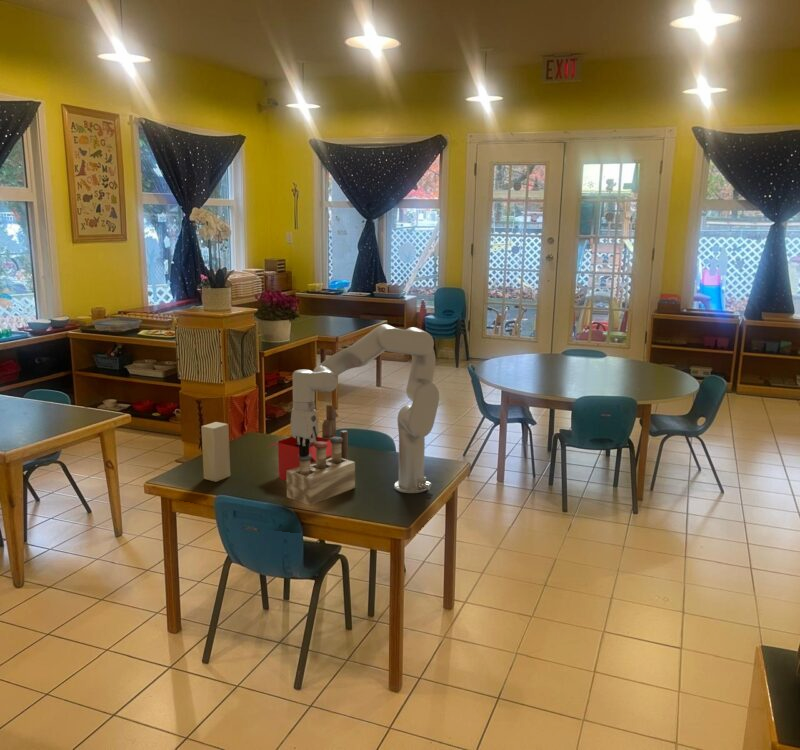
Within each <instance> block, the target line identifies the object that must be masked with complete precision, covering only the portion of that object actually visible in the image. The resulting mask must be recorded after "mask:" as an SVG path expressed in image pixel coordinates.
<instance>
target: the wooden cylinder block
mask: <svg viewBox="0 0 800 750" xmlns="http://www.w3.org/2000/svg"><path fill="white" fill-rule="evenodd" d="M341 460H342V462H341V463H339V464H334V463H332V455H331V456H328V457H326V468H325V469H317V468H316V461H314V462H311V463H310V474H309V475H306V476H304V475H301V474H300V466H299V467H296V468H293V469H290V470H287V471H286V477H287V481H286V498H288V499H290V500H294V501H296V502H300V503H302V504H304V505H307V506H313V505H316V504H318V503H320V502H322V501H326V500H327V499H330V498H333V497H335V496H338V495H340V494H343V493H346V492H348V491H350V490H352V489H355V488H356V461H353V460H350V459H348V460H346V459H343V458H341Z"/></svg>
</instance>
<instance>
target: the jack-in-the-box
mask: <svg viewBox="0 0 800 750" xmlns="http://www.w3.org/2000/svg"><path fill="white" fill-rule="evenodd" d="M315 438H316V442H327V447H326V457H328V456H331V455H332V443H331V442H330V440H329V439H324V438H321V437H320V436H317V437H315ZM316 442H312V443H310V445H309V454H311V457H312V459H311V460H310V463H311V462H314V461H316V448H315V443H316ZM275 446H277V447H278V449H277V451H278V479H280V480H282V481H286V482H287V477H286V471H287V470H290V469H293V468H296V467H299V466H300V460H299V459H298V455H299V445H298V441H297V439H296V438H294V437H293V436H290V437H287V438H284V439H281V440H278V441H276V442H274V443H272V444H270V445H269V446H268V447H267V448H266V449H268V448H271V447H275Z"/></svg>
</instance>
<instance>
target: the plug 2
mask: <svg viewBox="0 0 800 750" xmlns="http://www.w3.org/2000/svg"><path fill="white" fill-rule="evenodd" d="M330 442H331V443H332V463H334V464H339V463H341V462H342V460H341V443H342V442H343V438H342V437H340V436H336V437H331V438H330Z"/></svg>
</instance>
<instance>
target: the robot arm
mask: <svg viewBox="0 0 800 750" xmlns="http://www.w3.org/2000/svg"><path fill="white" fill-rule="evenodd" d="M434 345H435V342H434V338H433V336H432V335H431V334H430V333H429V332H427V331H425V330H423V329H421V328H418V327H416V326H412V327H408V328H406V329H403V328H402V329H401V328H398V327H397V328H396V327H394V326H392V325H390V324H386V323H385V324H380V325H378V326H376V327H375V328H373V329H372V330H370V331H369V332H368V333H367V334H365V335H364V336H362V337H361V338H360V339H358V340H357V341H356V342H354V343H353V344H351V345H350V346H348V347H345V348H343V349H342V350H340V351H337V352H336V353H334V354H333V355H330V356H329V357H327V358H326V359H325V360H324V361H322V362H321V363H319V364H318V365H317V366H316V367H314V368H313V370H310V369H305V368H304V369H297V370H294V371H293V372H292V407H291V408H292V409H291V413H290V433H291V434H292V436H293V437H294V438H296V439H297V441H298V445H299V456H302V457H305V456H308V455H309V445H310V443H312V442H316V438H315V437H319V436H320V435H319V433H320V428H319V418H318V412H317V409H316V407H317V405H316V404H315V403H316V402H315V401H316V400H315V399H316V398H315V396H316V395H315V394H316V392H321V393H328V392H329V393H330V392H332V391H335V389H336V388H337V387H338V385H339V379H338V376H339V375H340V374H342V373H344V372H347V371H348V370H351V369H355V368H360V367H365V366H366V365H368V364H369V363H370V362H372V361H373V360H374V359H376V358H377V357H380V355H381V354H383V353H384V352H389V353H395V354H402V355H411V365H410V366H411V367H410V371H409V376H408V381H407V386H406V390H405V391H406V392H405V393H406V396H407V398H409V400H411V401H412V403H410V404H406V405H404V406H402V407H401V408H400V409H399V411H398V414H397V430H398V480H397V481H395V483H394V485H393V488H394V489H395V490H396V491H397V492H399V493H404V494H419V493H423V492H425V491H427V490H430V489H431V487H432V485H433V483H432V482H430V481H427V477H426V476H425V449H426V448H425V446H426V441H425V439H426V438H425V437H427V436H429V434H430V433H431V432H432V430H433V428H434V424H435V421H436V417H437V412H438V408H439V402H440V391H439V389H438V387H437V386H436V384H435V383H433V379H434V375H435V369H436V361H437V360H436V359H437V358H436V352H435V350H434ZM292 436H291V437H292Z"/></svg>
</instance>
